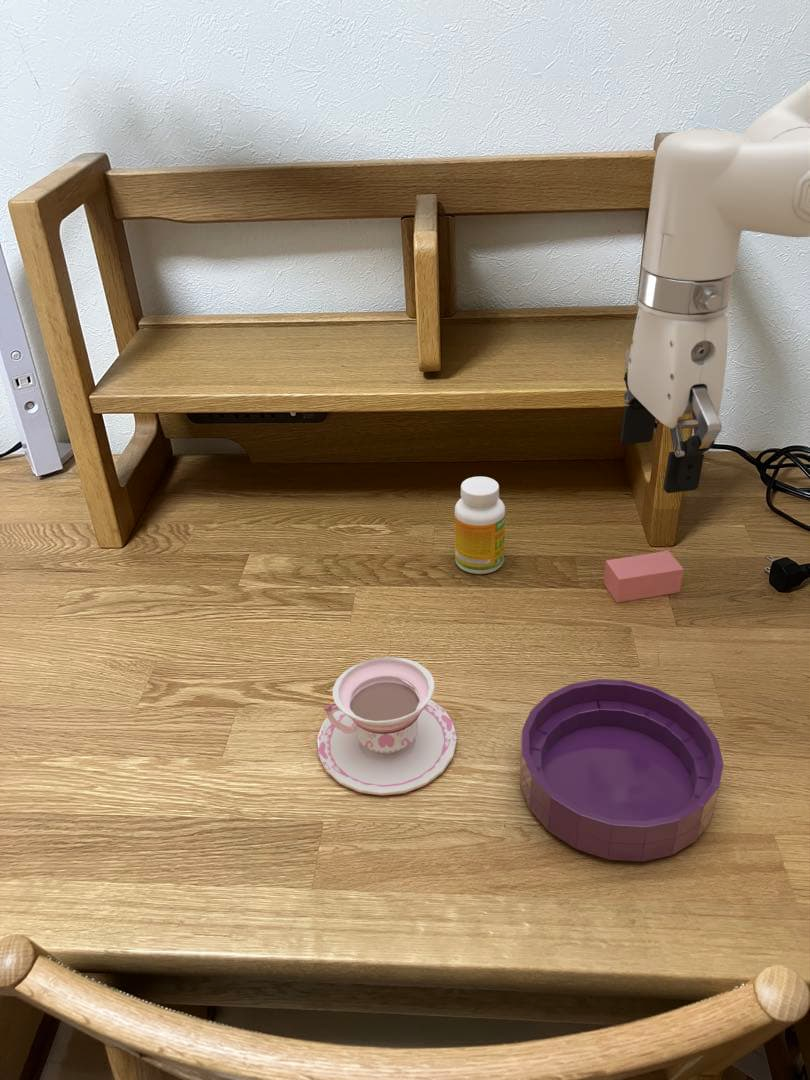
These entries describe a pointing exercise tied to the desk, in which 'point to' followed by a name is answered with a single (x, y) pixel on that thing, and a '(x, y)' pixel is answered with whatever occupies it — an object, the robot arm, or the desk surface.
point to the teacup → (385, 728)
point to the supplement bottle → (479, 526)
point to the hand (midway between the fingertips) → (657, 464)
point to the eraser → (643, 576)
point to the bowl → (620, 769)
